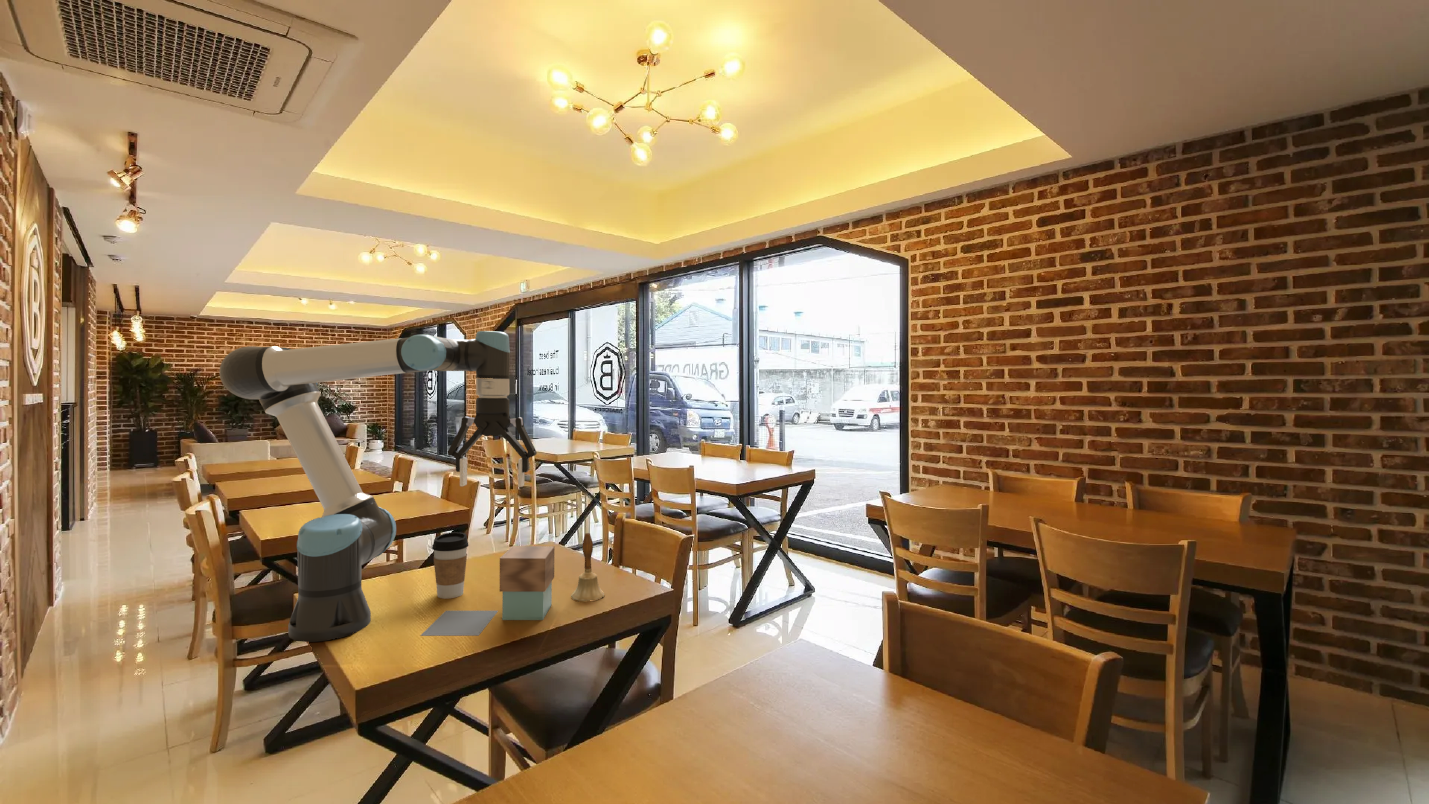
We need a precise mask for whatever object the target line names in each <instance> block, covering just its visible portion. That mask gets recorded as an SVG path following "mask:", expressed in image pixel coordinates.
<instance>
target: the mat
mask: <svg viewBox="0 0 1429 804" xmlns="http://www.w3.org/2000/svg"><path fill="white" fill-rule="evenodd" d="M498 612H499V610H445V611H443V613H442V614H441V615H440V616H439V617H438V618H437V619H436V620H434V622H432V624H430V626H428V628H427V629H426V630H424V631H423V632H422V633H421V634H420V635H419V636H423V637H426V636H427V637H429V636H430V637H432V636H433V637H435V636H436V637H437V636H438V637H439V636H440V637H442V636H444V637H447V636H448V637H450V636H452V637H454V636H455V637H457V636H459V637H460V636H465V637H471V636H472V637H474V636H478V637H479V636H480V635H481V633H482V632H483V631H484V630H485V629H486V627H487V626H488V625H489V623H490V622H491V621H492V619H494V617H495V616H496V615H497V613H498Z"/></svg>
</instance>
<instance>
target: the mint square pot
mask: <svg viewBox="0 0 1429 804" xmlns="http://www.w3.org/2000/svg"><path fill="white" fill-rule="evenodd" d="M552 584H553V581H552V582H551V583H550V585H549V586H548V588H547V589H546V591H545V592H502V608H501V609H502V610H501V611H502V613H501V614H502V617H501V618H502V621H543V620H544V619H545V617H546V615H547V614H548V612H549V611H550V609H551V608H552V603H553V601H552V599H553V597H552V596H553V595H552V592H553V591H552V590H553V589H552V587H553V585H552Z"/></svg>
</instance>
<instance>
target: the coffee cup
mask: <svg viewBox="0 0 1429 804" xmlns="http://www.w3.org/2000/svg"><path fill="white" fill-rule="evenodd" d="M467 537H468V535H467V534H466V533H465V532H460V531H457V532H454V531H453V532H447V533H443V534H439V535H437V536H436V537H435V538H434V539H433V543H432V544H431V545H432V546H431V549H432V550H433V555H434V556H433V565H434V575H435V584H436V595H437V597H438V598H440V599H443V600H444V599H446V600H447V599H454V598H458V597H461V596H462V595H463V594H464V587H465V578H466V569H467V560H468V554H467V549H468V547H469V546H470V545H469V541H468V538H467Z"/></svg>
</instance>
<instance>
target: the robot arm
mask: <svg viewBox="0 0 1429 804" xmlns="http://www.w3.org/2000/svg"><path fill="white" fill-rule="evenodd" d="M510 349H511V348H510V337H509V334H508V333H507V332H504V331H494V330H493V331H492V330H480V331H477V332H476V335H475V338H474V339H473V338H472V339H458V338H456V339H455V338H446V337H441V336H434V335H432V334H431V335H430V334H429V333H428V334H427V333H426V334H422V333H421V334H414V335H411V336H410V337H409V336H408V337H402V338H400V337H399V338H391V339H379V340H371V341H360V342H351V343H349V342H348V343H340V344H333V345H332V344H331V345H329V344H328V345H322V346H320V345H319V346H312V347H301V348H293V349H291V348H288V347H280V346H275V345H274V346H252V345H251V346H243V347H242V346H241V347H239V348H236V349H234V350H232V351H230V352H229V353H228V354H227V355H225V357H224V358H223V360H221V363H220V366H219V379H220V381H221V383H222V385H223V386H224V388H225V389H226V390H227V391H229V392H230V393H231V394H232V395H235V396H237V397H239V398H242V399H246V400H259V403H260V404H261V407H262V409H263V411H264V412H265V414H267V415H270V416H274V417H275V418H277V422H278V423H279V424H280V426H281V429H282V430H283V432H284V434H285V437H286V438H287V440H288V441H289V443H290V446H291V448H292V450H293V452H294V453H295V456H296V458H297V459H298V461H299V463H300V465H301V467H302V470H303V471H304V473H305V475H306V477H307V479H308V481H309V483H310V485H311V486H312V489H313V491H314V493H315V495H316V496H317V498H318V501H319V502H320V504H321V507H322V508H323V513H322V515H321V517H317V518H313V519H311V520H309V521H307V522H305V523H304V524H303V525H301V527H300V528H299V531H298V534H297V535H298V536H297V541H296V549H297V588H298V589H297V590H298V591H297V593H298V596H297V599H296V602H295V605H294V608H293V611H292V613H291V616H290V618H289V619H290V620H289V623H288V629H287V630H288V631H287V632H288V634H287V635H288V637H289V638H290V639H291V640H293V641H298V642H303V643H305V642H307V643H310V642H311V643H312V642H313V643H315V642H326V641H331V640H330V639H333V640H336V639H335V638H337V639H341V638H345V637H348V635H349V636H352V635H354V634H357V632H360V631H362V630H363V629H365V628H366V627H367V626H368V625H369V624H370V623H371V619H372V618H371V617H372V615H371V614H372V613H371V609H370V606H369V604H368V601H367V598H366V596H365V594H364V592H363V591H364V590H363V589H362V566H363V565H364V564H366V563H368V562H369V561H371V560H373V559H375V558H377V557H379V556H381V555H383V553H384V552H385V551H386V550H388V548H389V547H390V546H391V545H392V544H393V542H394V540H395V537H396V534H397V524H396V521H395V517H394V516H393V515H392V514H391V512H390V511H388V510H387V509H385V508H382V507H381V506H379V505H378V503H377V501H376V499H375V497H374V496H373V495H370V494H367V493H364V492H363V489H362V487H361V486H360V484H359V481H358V480H357V478H356V476H355V474H354V472H353V470H352V468H351V466H350V465H349V463H348V460H347V458H346V457H345V454H344V452H343V450H342V449H341V447H340V445H339V443H338V441H337V439H336V437H335V435H334V433H333V431H332V429H331V427H330V426H329V423H328V421H327V419H326V418H325V415H324V414H323V411H322V410H321V407H320V406H319V402H318V401H319V399H320V397H321V395H322V394H321V391H320V389H319V387H318V384H319V383H324V382H335V381H343V380H353V379H361V378H371V377H380V376H389V375H399V374H400V375H401V374H407V373H408V374H411V373H420V372H430V371H433V372H475V395H476V396H478V397H476V398H475V417H470V416H463V417H462V418H461V423H460V427H459V430H458V431H457V432H456V434H455V437H454V438H453V440H452V443H451V445H450V447H449V448H448V451H447V452H446V453H447V456H450V457H454V459H455V471H456V472H457V473H458V472H459V487H464V486H467V485H468V457H465V455H466V454H467V453H468V451H469V450H471V449H472V447H473V446H474V445H475V444H476V442H477V441H479V439H480V438H481V437H482V436H485V437H490V436H491V437H492V436H493V437H500V436H502V437H503V438H504V439H505V440H506V441H507V442H508V444H509V445H510V446H511V447H512V448H513V449H514V450H515V452H516V454H518V455H519V456H520V457H521V458H519V459H518V461H517V462H518V464H517V466H518V467H517V468H518V469H517V470H518V476H517V478H518V480H517V481H518V482H517V483H518V484H517V485H518V487H519V488H523V487H524V486H525V473H528V472H529V465H530V464H529V463H530V458H533V457H535V456H537V454H538V452H537V450H536V447H535V446H534V444H533V442H532V440H531V438H530V435H529V434H528V432H527V429H526V428H525V425H524V419H523V417H521V416H520V417H516V418H514V417H513V418H511V417H510V398H509V397H508V396H509V395H510V390H511V389H510V366H511V365H510V362H511V361H510V359H511V357H510V356H511V350H510ZM473 424H474V425H475V427H477V428H476V430H475V431H474V432H473V434H472V435H471V436H470V437H469V439H468V440H467V441H466V442H465V443H464V445H462V447H461V448H460V446H461V444H462V443H463V440H464V438H465V437H466V434H467V433H468V431H469V428H470V427H472V425H473ZM511 424H512V425H513V428H514V427H515V428H516V431H517V433H518V435H519V436H520V438H521V441H522V443H523V445H524V446H525V447H523V445H522V444H521V443H520V442H519V440H518V439H516V437H515V436H514V435H513V432H511V430H510V429H509V427H510V426H511ZM459 448H460V449H459Z"/></svg>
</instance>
